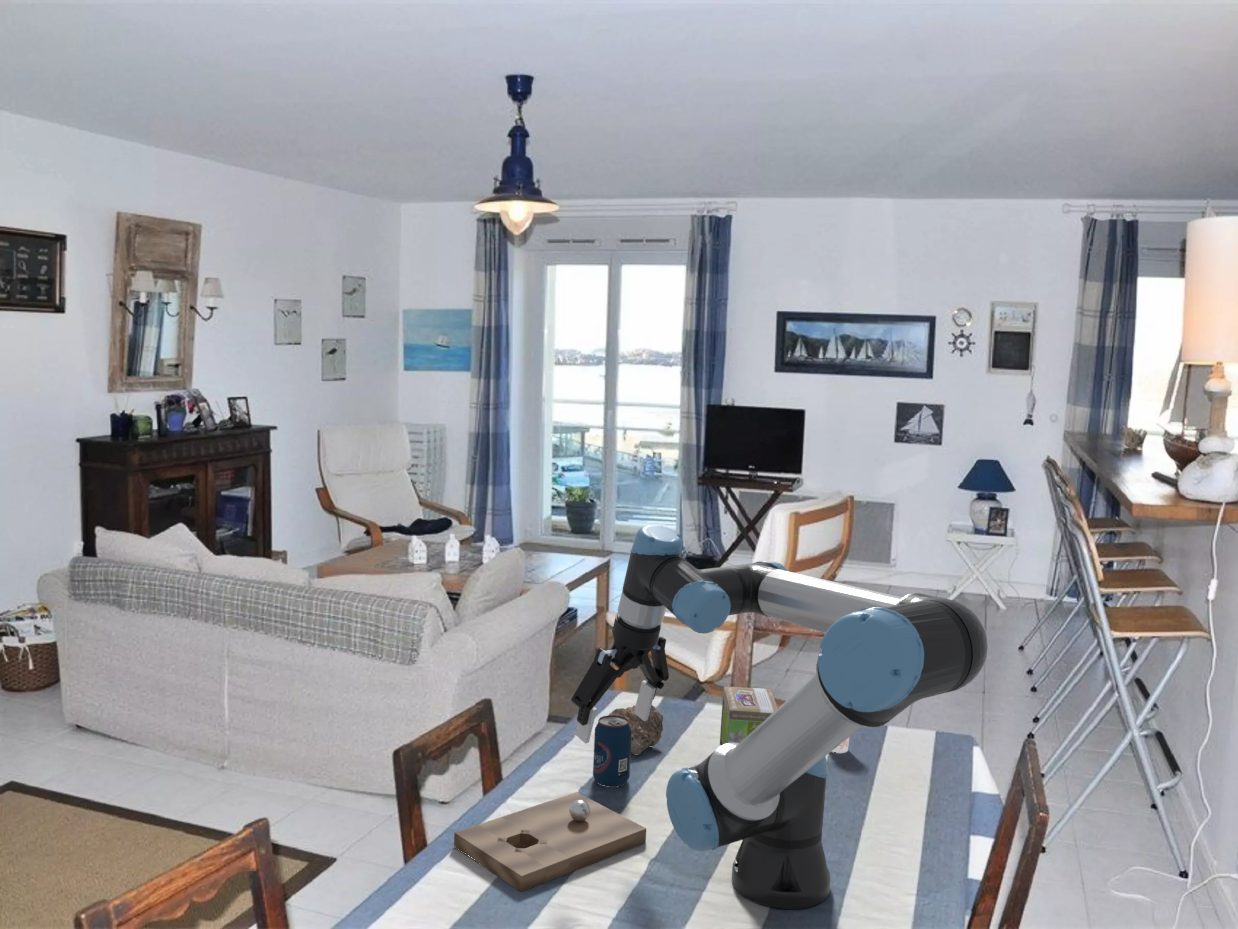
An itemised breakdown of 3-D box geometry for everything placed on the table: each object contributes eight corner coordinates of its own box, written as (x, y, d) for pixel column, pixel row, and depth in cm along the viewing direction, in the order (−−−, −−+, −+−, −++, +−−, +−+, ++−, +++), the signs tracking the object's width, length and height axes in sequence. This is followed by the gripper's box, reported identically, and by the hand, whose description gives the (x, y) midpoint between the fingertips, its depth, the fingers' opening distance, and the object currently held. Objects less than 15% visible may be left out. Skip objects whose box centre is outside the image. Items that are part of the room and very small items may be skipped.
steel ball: (594, 821, 182) (594, 801, 182) (578, 827, 180) (578, 807, 179) (580, 814, 185) (581, 794, 184) (564, 819, 182) (565, 799, 182)
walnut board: (645, 842, 181) (646, 828, 180) (521, 891, 163) (521, 876, 163) (576, 805, 194) (576, 792, 193) (453, 847, 176) (454, 832, 176)
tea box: (776, 787, 205) (781, 712, 204) (723, 785, 205) (727, 710, 204) (767, 757, 220) (771, 686, 218) (718, 754, 220) (721, 684, 219)
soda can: (585, 779, 205) (587, 718, 204) (614, 771, 210) (617, 711, 208) (607, 792, 200) (609, 729, 198) (636, 784, 204) (639, 722, 203)
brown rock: (622, 763, 214) (608, 714, 215) (601, 763, 222) (587, 716, 223) (678, 740, 221) (664, 693, 222) (656, 741, 229) (642, 696, 230)
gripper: (676, 592, 185) (648, 696, 192) (566, 621, 168) (540, 735, 175) (707, 613, 180) (678, 720, 187) (597, 646, 163) (570, 761, 170)
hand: (611, 727), depth 181 cm, fingers open, 13 cm apart
